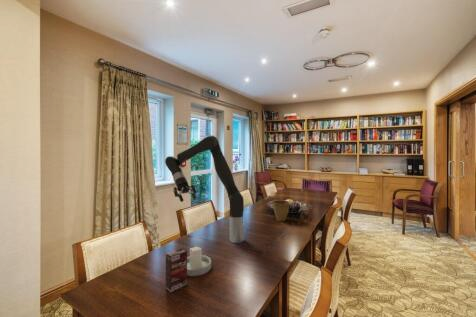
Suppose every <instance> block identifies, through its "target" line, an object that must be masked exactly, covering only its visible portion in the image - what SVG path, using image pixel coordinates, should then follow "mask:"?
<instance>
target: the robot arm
mask: <svg viewBox="0 0 476 317" xmlns="http://www.w3.org/2000/svg"><path fill="white" fill-rule="evenodd" d="M217 138H218V137H216V136H215V135H207V136H204V137H203V139H201V140H200V141H198V142H197V143H195V144H194V145H192V146H190V147H188V148H186V149H184V150H182V151H180V152H179V153H177V155H176V157H174V156H172V155H168V156H167V157H166V158H165V160H164V163H165V165H166V167H167V169H168V170H169V172H170V173H171V175H172V178H173V181H174V184H175V186H174V187H173V189H172V191H173V194H174V197H175V198H177V197H178V199H179V201H180V202H181V203H183V202H184V198H183V195H182V194H189V195H191V197H192V199H193V201H194V200H196V198H197V195H196V193H198V192H197V189H196V188H195V186H194V184H192V185H189V183H188V180H187V178H186V176H185V174H184V172H183V170H182V168H181V167H180V166H182V165H183V164H184V163H185V162H186V161H189V160H190V159H192V158H193V157H194V158H195V156H197V155H198V154H201V153H203V152H208V151H210V154H211V156H212V160H213V165H214V170H215V172H216V174H217V177H218V178H219V180H220V182H221V184H222V185H223V186H224V188H225V191H226V193H227V196H228V200H229V241H230V243H232V244H240V243H243V242H244V241H245V225H244V208H245V206H244V204H245V203H244V196H243V194H242V193H241V192H240V190H239V188H238V187H237V185H236V183H235V178H234V176H233V172H232V171H231V168H230V166H229V164H228V162H227V160H226V157H225V156H224V153H223V150H222V149H221V146H220V142H219V139H217ZM178 192H179V193H178Z"/></svg>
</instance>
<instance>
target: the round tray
mask: <svg viewBox="0 0 476 317" xmlns="http://www.w3.org/2000/svg"><path fill="white" fill-rule="evenodd" d="M211 269H212V259H211V257H209V256H208V255H204V254H202V266H200V267H197V268H195V269H194V268H193V267H191V266H190V255H189V256H187V276H190V277H195V276H202V275H204V274H207V273H208V272H209V271H210V270H211Z"/></svg>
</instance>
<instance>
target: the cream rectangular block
mask: <svg viewBox="0 0 476 317" xmlns="http://www.w3.org/2000/svg"><path fill="white" fill-rule="evenodd" d="M202 252H203V250H202V248H201V247H200V246H194V247H190V248H189V256H190V266H191V267H193V268H194V269H195V268H197V267H200V266H202V255H203V253H202Z"/></svg>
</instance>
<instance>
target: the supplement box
mask: <svg viewBox="0 0 476 317" xmlns="http://www.w3.org/2000/svg"><path fill="white" fill-rule="evenodd" d="M187 257H188V251H187V250H186V249H184V248H180V249H176V250H173V251H170V252H167V253H165V288H166V290H168V291H169V292H170V293H173V292H174V291H175V290H178V289H180V288H183V287H184V286H186V285H188V275H187Z"/></svg>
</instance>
